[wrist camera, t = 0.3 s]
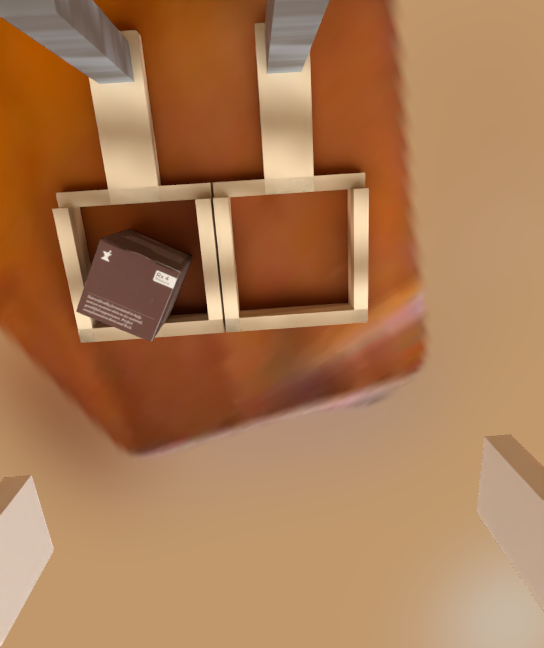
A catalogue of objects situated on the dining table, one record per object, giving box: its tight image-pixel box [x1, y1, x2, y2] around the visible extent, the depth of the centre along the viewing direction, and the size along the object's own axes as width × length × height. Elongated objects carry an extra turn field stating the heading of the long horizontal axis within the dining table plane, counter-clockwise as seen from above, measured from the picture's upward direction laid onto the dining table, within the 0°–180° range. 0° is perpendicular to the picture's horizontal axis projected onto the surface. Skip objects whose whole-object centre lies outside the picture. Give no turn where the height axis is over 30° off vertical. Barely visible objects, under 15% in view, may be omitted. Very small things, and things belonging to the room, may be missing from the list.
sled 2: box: [213, 0, 369, 332], centre depth 29 cm, size 23×12×14 cm, turn 4°
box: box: [76, 229, 192, 341], centre depth 34 cm, size 6×6×7 cm
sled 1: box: [0, 0, 226, 343], centre depth 28 cm, size 23×12×14 cm, turn 4°
